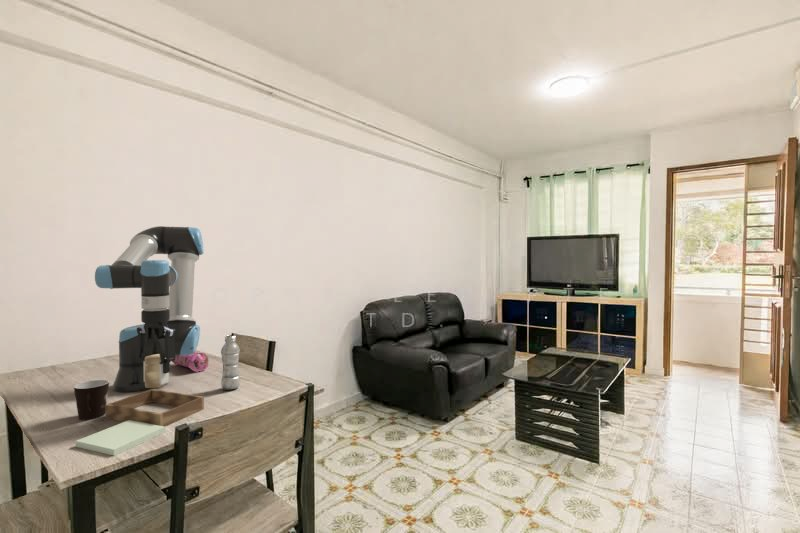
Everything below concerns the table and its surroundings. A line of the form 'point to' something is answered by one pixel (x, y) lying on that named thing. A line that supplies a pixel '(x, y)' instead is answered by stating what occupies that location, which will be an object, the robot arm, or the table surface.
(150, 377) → the light wood cylinder
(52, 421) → the table surface
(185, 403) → the walnut frame
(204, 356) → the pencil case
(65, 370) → the table surface
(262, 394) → the table surface
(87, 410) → the coffee mug
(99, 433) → the mint green tile
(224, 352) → the plastic bottle
